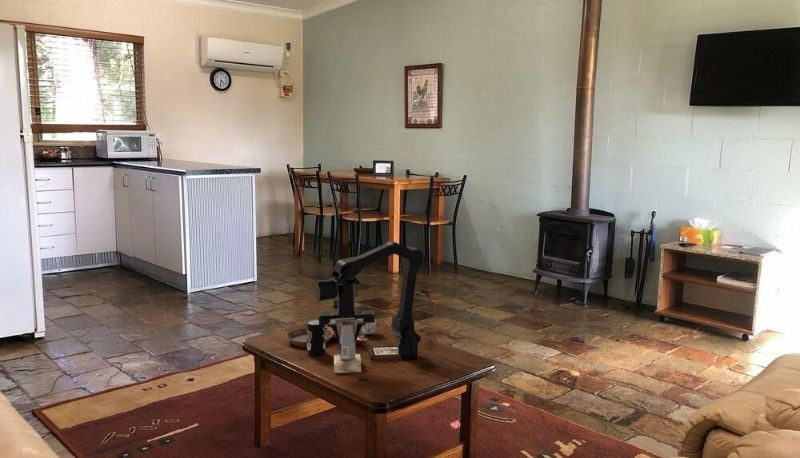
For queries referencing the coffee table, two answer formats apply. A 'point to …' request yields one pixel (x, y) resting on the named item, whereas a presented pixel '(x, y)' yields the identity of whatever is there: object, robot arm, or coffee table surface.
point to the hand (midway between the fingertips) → (347, 341)
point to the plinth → (347, 364)
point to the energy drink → (347, 340)
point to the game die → (369, 328)
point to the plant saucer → (303, 337)
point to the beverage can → (315, 338)
